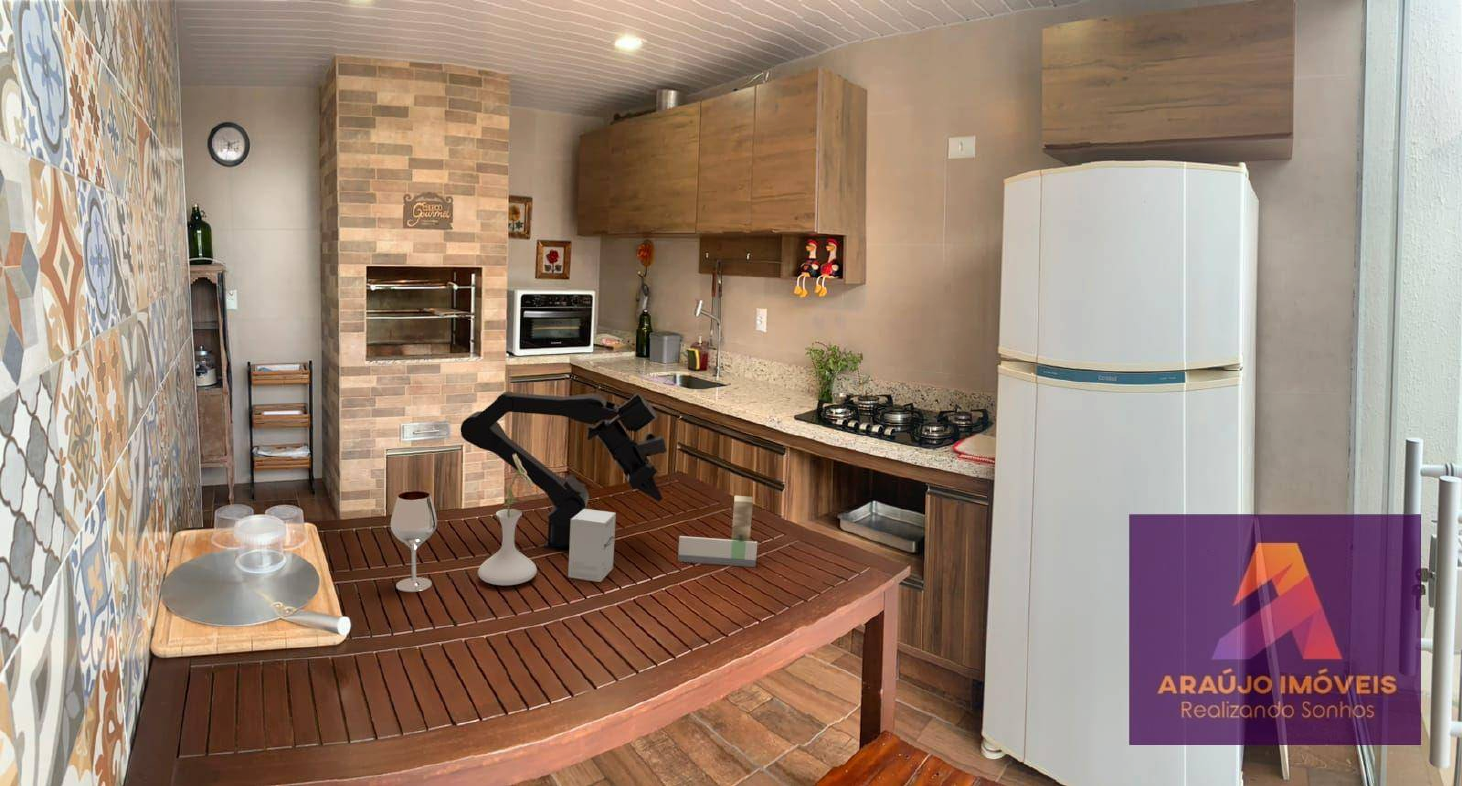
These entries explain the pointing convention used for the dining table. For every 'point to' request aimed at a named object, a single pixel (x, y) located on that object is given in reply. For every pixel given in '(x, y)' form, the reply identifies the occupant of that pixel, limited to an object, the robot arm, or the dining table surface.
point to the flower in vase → (509, 546)
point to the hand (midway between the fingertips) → (660, 499)
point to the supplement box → (591, 545)
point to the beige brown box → (742, 518)
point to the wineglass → (413, 530)
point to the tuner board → (717, 551)
